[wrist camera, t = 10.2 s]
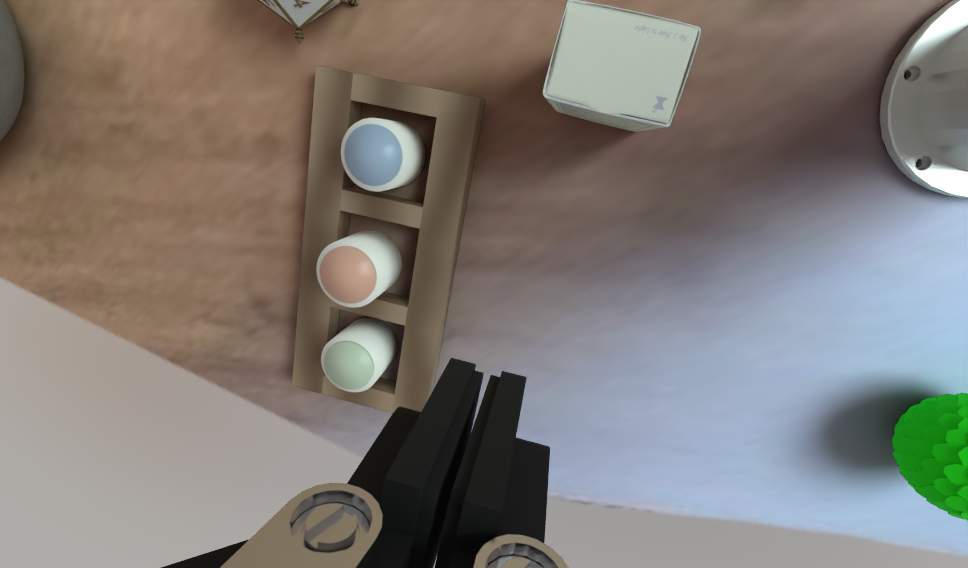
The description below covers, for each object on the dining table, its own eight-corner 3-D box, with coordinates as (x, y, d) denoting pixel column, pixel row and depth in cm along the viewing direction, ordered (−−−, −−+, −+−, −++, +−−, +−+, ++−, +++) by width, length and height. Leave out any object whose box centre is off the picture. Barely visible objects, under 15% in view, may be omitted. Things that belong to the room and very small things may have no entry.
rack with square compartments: (485, 100, 34) (480, 97, 32) (429, 409, 42) (423, 421, 40) (329, 69, 35) (316, 65, 34) (303, 375, 43) (291, 385, 41)
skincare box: (659, 68, 32) (711, 24, 20) (637, 136, 33) (674, 130, 22) (568, 46, 32) (568, -9, 21) (549, 114, 34) (540, 97, 22)
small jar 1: (430, 127, 35) (411, 125, 31) (420, 192, 36) (401, 198, 32) (368, 115, 35) (342, 111, 31) (361, 179, 37) (335, 183, 33)
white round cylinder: (400, 325, 40) (381, 346, 36) (393, 375, 41) (373, 400, 37) (346, 312, 40) (321, 330, 36) (341, 362, 42) (316, 385, 38)
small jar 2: (405, 237, 35) (384, 249, 31) (397, 297, 37) (376, 316, 33) (345, 223, 36) (317, 233, 32) (339, 283, 37) (311, 299, 33)
